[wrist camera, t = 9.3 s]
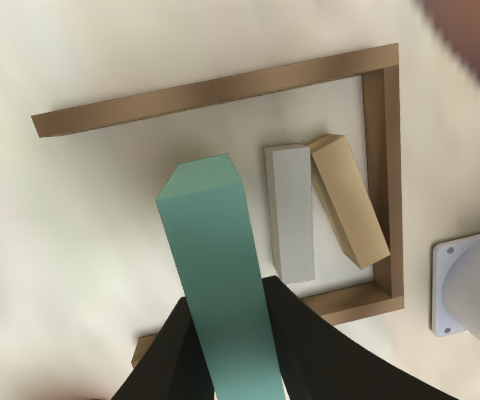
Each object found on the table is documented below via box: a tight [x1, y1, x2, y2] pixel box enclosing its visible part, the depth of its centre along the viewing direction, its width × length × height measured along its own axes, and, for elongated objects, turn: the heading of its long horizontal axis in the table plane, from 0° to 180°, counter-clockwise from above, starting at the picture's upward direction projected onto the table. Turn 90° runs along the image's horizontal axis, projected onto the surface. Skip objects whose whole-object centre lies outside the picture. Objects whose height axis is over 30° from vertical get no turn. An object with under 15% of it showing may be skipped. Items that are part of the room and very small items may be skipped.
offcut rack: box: [31, 43, 404, 368], centre depth 16 cm, size 18×16×2 cm
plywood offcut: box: [306, 134, 391, 270], centre depth 16 cm, size 2×8×2 cm, turn 27°
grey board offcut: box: [264, 144, 314, 284], centre depth 16 cm, size 2×8×2 cm, turn 6°
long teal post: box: [156, 154, 286, 400], centre depth 10 cm, size 2×10×5 cm, turn 11°
